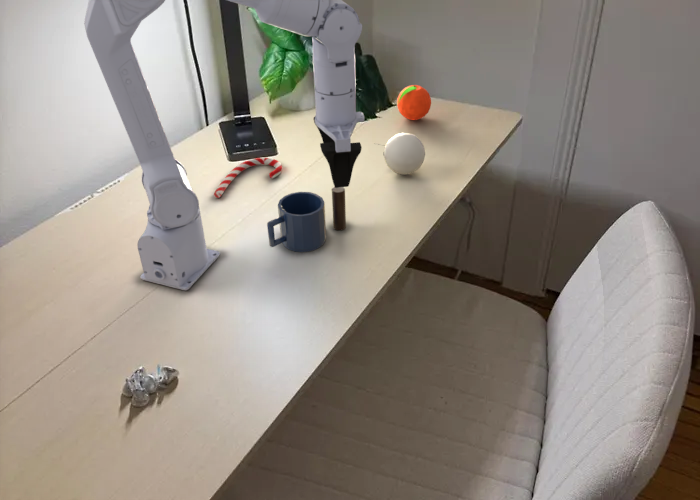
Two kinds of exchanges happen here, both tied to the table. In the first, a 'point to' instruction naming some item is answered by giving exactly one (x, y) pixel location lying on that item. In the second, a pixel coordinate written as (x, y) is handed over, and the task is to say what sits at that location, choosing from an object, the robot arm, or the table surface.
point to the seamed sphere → (404, 153)
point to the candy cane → (245, 165)
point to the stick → (339, 208)
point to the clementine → (414, 102)
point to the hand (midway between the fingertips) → (338, 173)
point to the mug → (299, 222)
